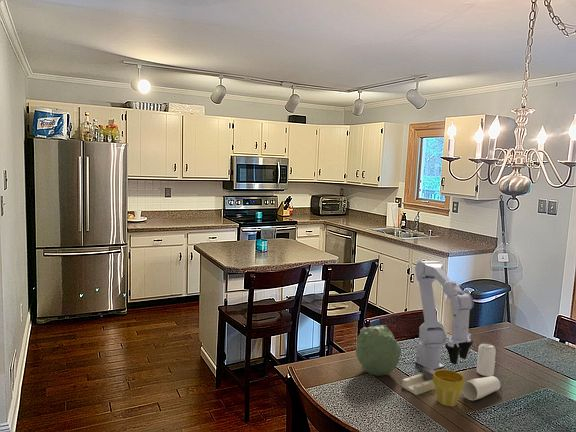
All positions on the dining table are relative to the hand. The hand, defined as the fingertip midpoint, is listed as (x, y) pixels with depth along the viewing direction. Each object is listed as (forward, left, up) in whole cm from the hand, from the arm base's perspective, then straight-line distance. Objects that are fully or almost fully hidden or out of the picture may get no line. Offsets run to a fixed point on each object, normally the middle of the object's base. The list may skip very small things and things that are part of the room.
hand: (458, 360), depth 168 cm
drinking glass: (+9, +11, -7) cm, 16 cm away
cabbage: (-22, -20, -10) cm, 32 cm away
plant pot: (+5, -13, -10) cm, 17 cm away
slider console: (-6, -11, -10) cm, 17 cm away
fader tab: (-6, -8, -9) cm, 14 cm away
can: (-1, +20, -10) cm, 23 cm away
